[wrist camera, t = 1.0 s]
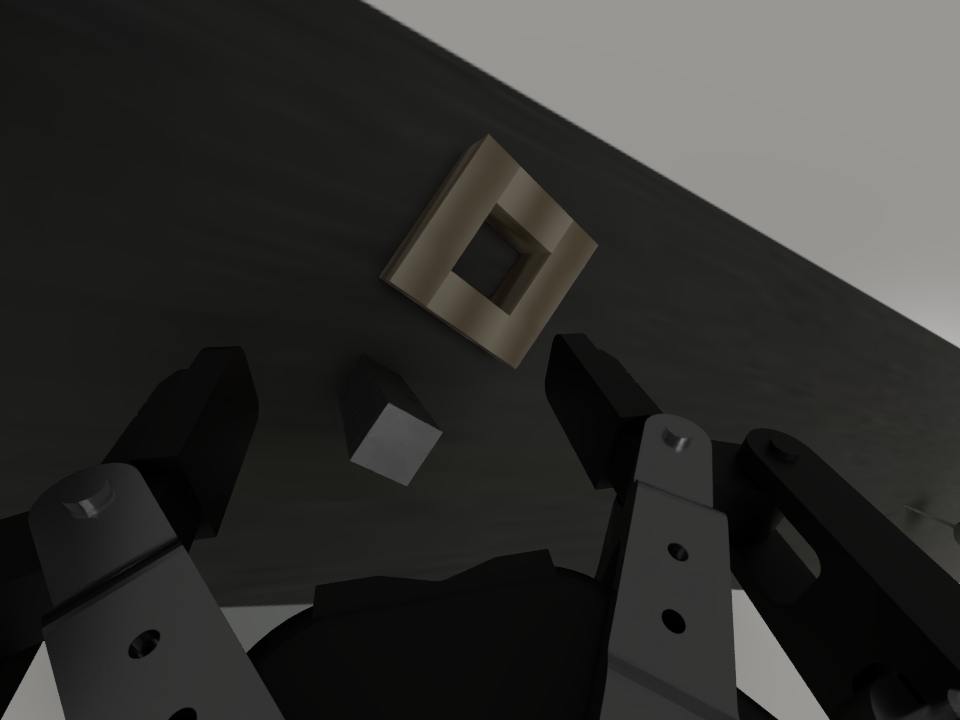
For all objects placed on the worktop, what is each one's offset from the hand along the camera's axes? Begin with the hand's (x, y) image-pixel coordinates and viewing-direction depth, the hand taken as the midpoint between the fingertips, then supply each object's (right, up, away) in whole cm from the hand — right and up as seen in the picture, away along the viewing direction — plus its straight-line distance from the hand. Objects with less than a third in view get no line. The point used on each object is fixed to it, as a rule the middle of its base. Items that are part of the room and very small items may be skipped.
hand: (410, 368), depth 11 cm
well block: (+2, +10, +30) cm, 31 cm away
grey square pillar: (-9, -2, +29) cm, 30 cm away
